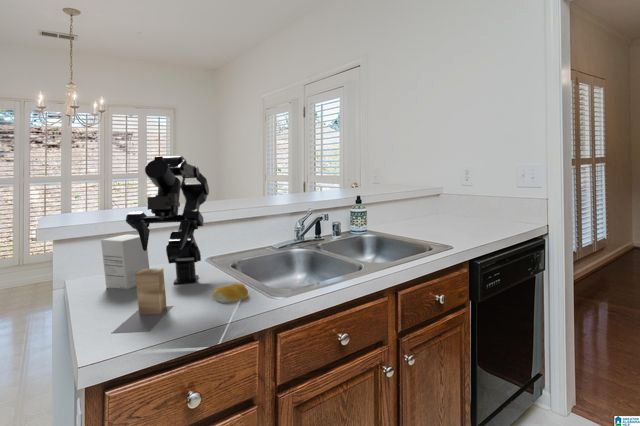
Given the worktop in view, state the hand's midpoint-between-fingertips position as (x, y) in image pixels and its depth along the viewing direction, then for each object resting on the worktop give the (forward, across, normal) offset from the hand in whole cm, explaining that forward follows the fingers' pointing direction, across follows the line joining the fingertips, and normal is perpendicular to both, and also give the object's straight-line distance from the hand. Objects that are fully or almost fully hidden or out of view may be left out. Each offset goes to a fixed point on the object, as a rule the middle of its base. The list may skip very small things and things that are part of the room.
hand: (162, 249), depth 96 cm
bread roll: (+13, +17, +7) cm, 22 cm away
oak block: (+15, -1, +1) cm, 15 cm away
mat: (+18, -1, -3) cm, 19 cm away
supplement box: (+4, -17, +22) cm, 28 cm away
